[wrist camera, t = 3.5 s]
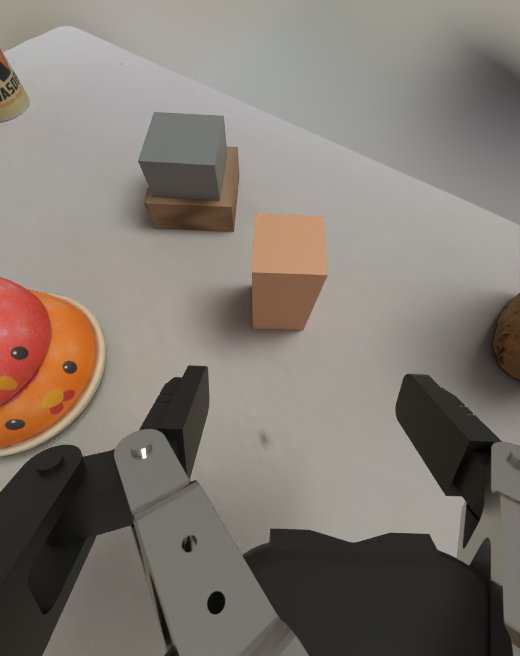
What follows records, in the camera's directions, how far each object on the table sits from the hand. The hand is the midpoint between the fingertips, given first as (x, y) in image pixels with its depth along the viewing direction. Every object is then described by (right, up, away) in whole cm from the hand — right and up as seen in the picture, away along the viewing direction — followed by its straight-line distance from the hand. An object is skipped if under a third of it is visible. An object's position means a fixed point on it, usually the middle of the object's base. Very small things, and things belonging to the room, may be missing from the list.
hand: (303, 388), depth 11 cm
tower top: (-9, +19, +19) cm, 28 cm away
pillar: (0, +5, +17) cm, 18 cm away
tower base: (-9, +18, +23) cm, 30 cm away
